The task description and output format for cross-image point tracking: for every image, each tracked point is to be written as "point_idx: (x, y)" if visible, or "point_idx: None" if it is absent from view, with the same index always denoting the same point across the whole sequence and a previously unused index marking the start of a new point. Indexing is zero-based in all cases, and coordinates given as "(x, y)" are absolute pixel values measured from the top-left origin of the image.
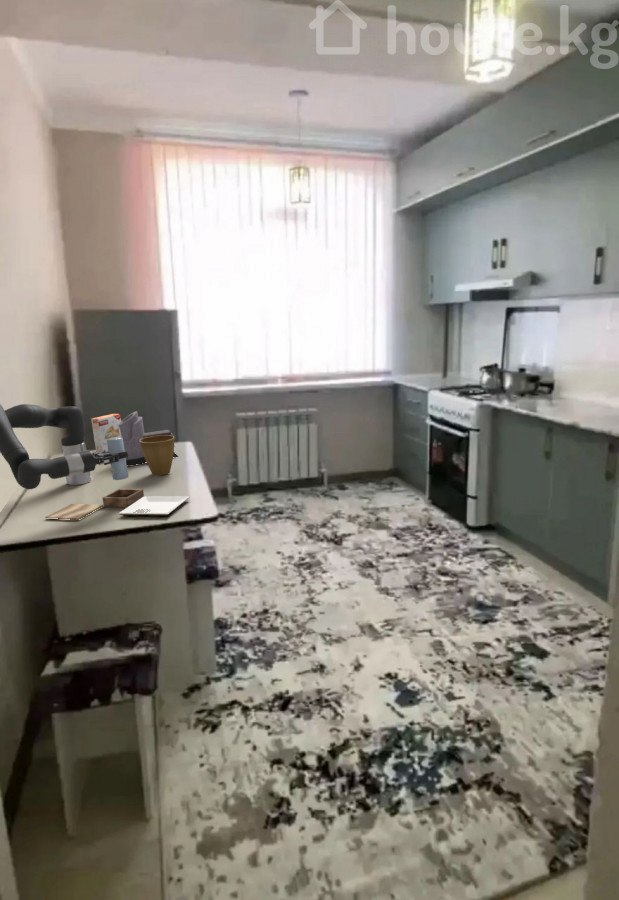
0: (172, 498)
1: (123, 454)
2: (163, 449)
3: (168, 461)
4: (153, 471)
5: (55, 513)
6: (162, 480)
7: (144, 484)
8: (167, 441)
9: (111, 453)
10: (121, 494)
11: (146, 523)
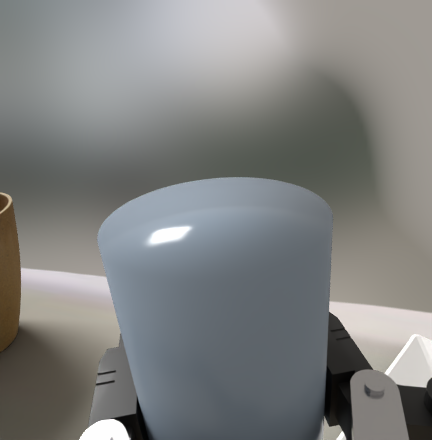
0: (401, 384)
1: (346, 339)
2: (9, 245)
3: (20, 284)
4: None
5: None
6: (68, 358)
7: (35, 425)
8: (10, 208)
9: (295, 429)
10: None
11: None
